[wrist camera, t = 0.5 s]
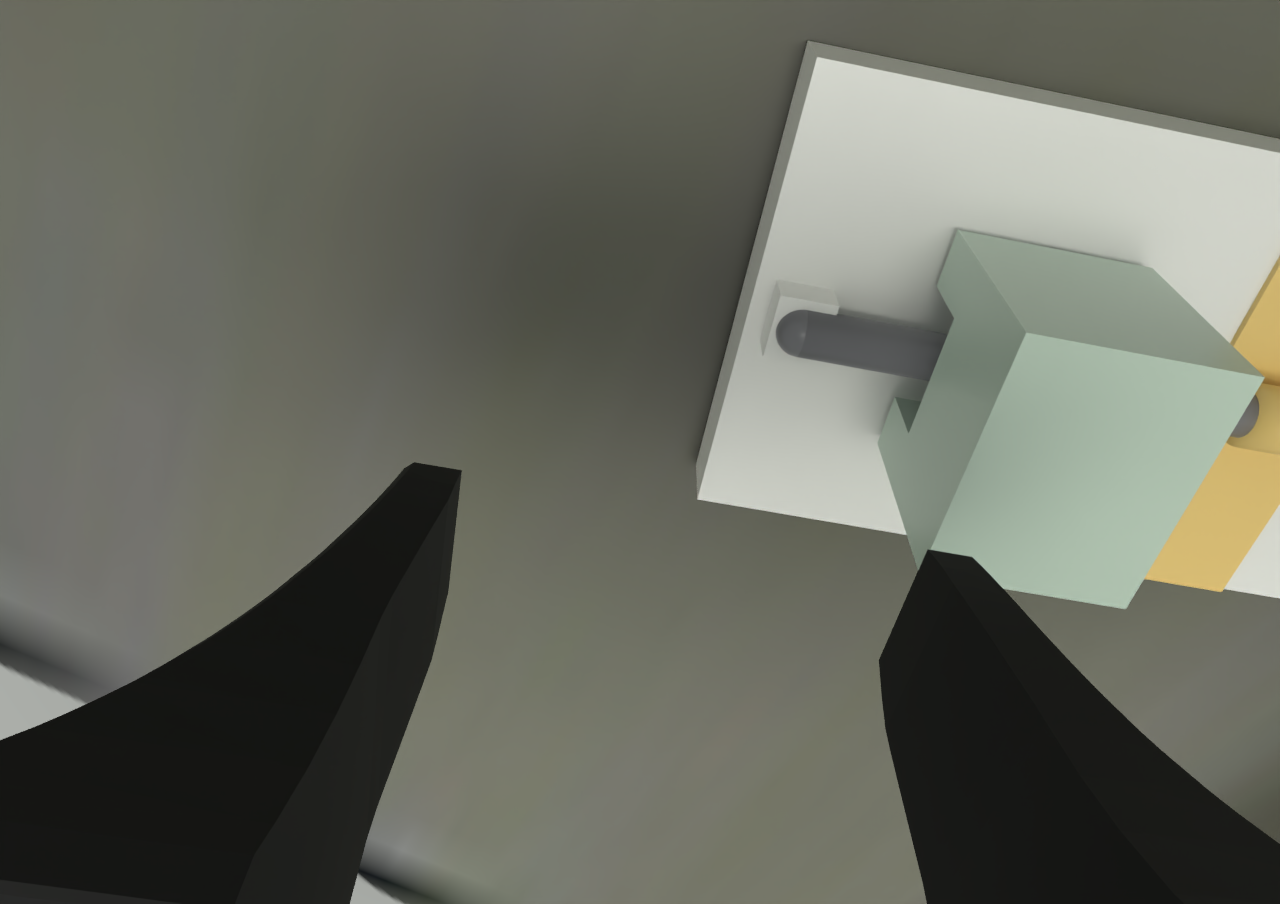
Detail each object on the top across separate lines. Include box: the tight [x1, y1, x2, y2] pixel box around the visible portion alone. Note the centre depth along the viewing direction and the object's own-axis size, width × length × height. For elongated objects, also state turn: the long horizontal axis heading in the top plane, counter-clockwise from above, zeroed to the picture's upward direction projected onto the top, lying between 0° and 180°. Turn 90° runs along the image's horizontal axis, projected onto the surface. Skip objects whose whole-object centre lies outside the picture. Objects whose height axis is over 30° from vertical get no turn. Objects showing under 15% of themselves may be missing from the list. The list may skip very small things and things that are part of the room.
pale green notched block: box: [877, 230, 1265, 609], centre depth 19 cm, size 4×5×4 cm
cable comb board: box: [696, 41, 1280, 598], centre depth 21 cm, size 18×10×4 cm, turn 79°
